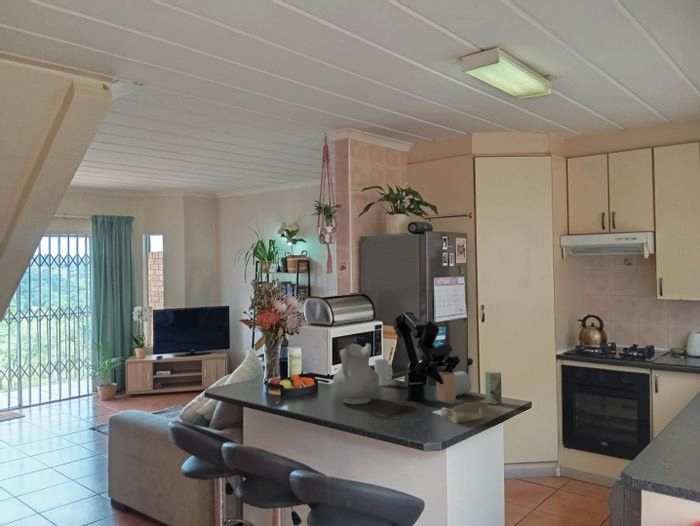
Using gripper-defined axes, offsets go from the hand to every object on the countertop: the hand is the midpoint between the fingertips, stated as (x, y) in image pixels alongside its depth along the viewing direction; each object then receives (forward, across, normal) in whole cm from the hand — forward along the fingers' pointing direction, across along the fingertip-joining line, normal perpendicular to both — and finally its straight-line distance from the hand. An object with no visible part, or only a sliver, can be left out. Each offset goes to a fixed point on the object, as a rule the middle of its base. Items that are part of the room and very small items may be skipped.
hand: (448, 382), depth 208 cm
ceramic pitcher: (-19, -18, +36) cm, 45 cm away
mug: (-34, +10, +51) cm, 62 cm away
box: (+7, +26, +11) cm, 29 cm away
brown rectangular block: (+4, 0, +6) cm, 7 cm away
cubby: (+13, 0, +4) cm, 14 cm away
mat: (+8, 0, +9) cm, 12 cm away
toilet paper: (-7, +23, +25) cm, 35 cm away
